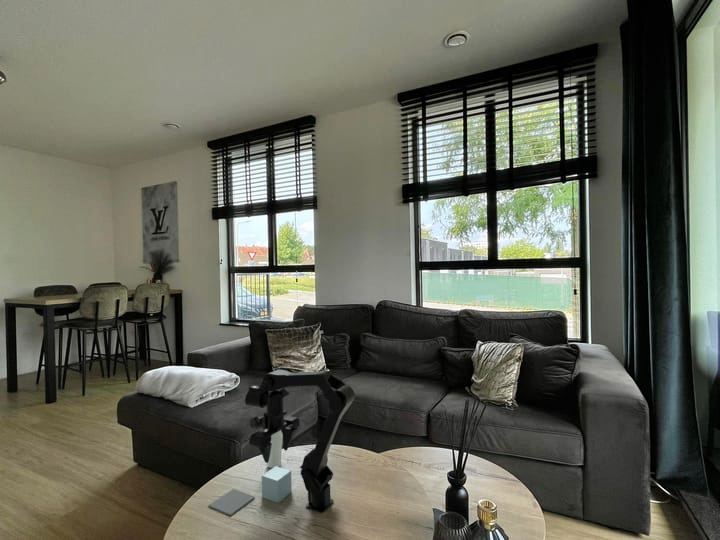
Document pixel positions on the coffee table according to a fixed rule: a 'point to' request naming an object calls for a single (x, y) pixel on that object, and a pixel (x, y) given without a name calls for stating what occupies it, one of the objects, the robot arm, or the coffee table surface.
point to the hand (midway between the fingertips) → (276, 456)
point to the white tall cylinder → (275, 450)
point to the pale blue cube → (276, 484)
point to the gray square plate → (231, 502)
